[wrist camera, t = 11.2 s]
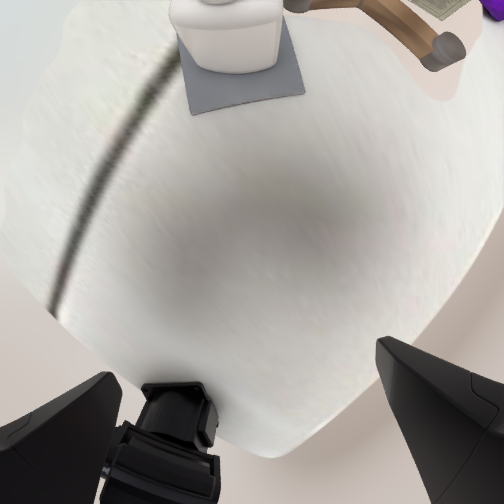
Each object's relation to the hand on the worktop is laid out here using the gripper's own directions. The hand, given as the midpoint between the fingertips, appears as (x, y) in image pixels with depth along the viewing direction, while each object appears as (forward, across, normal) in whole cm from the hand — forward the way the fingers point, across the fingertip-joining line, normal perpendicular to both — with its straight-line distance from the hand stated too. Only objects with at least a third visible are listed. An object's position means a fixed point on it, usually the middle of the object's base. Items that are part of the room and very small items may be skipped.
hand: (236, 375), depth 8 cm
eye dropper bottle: (+13, -2, -15) cm, 20 cm away
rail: (+13, -13, -17) cm, 25 cm away
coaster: (+13, -2, -15) cm, 20 cm away
